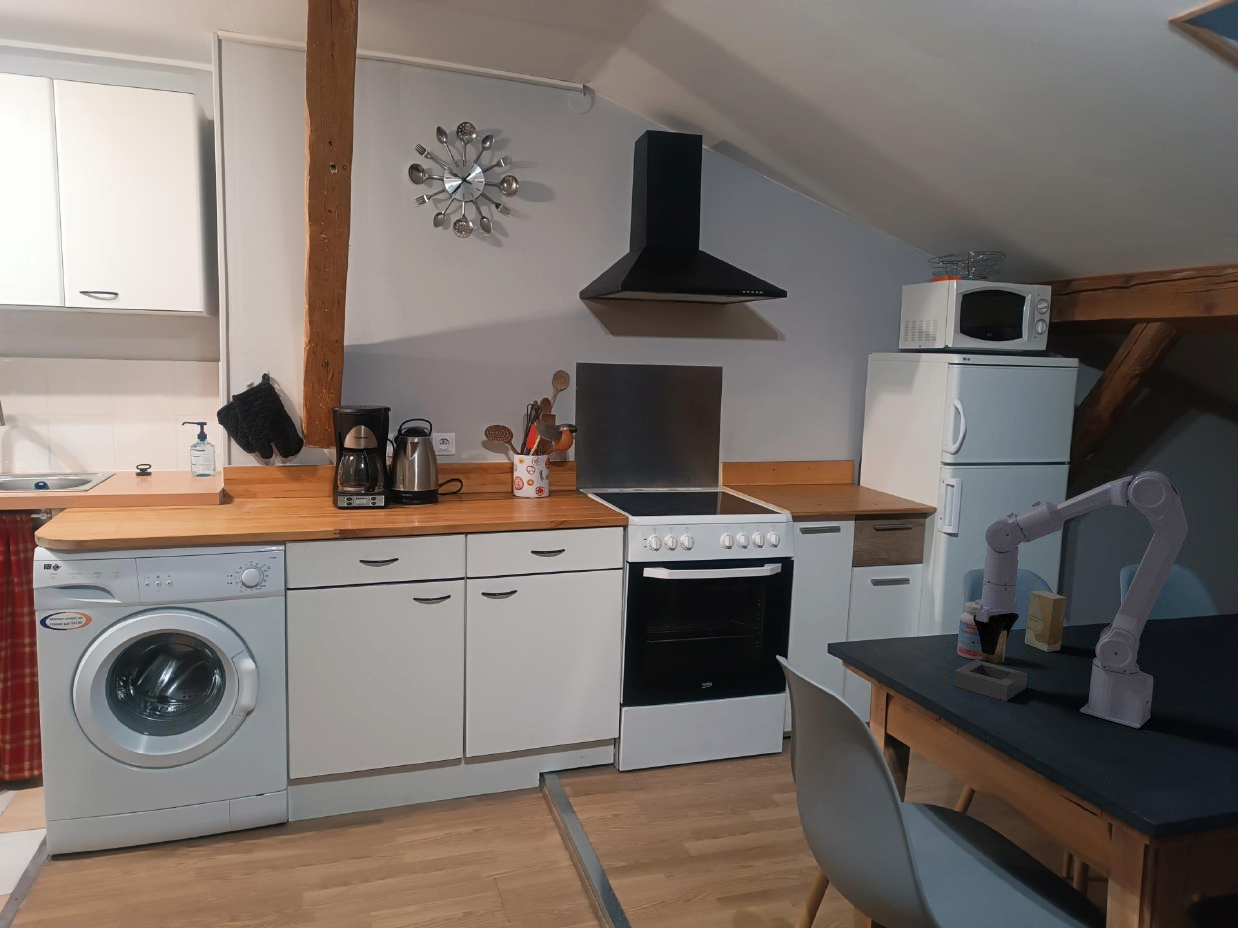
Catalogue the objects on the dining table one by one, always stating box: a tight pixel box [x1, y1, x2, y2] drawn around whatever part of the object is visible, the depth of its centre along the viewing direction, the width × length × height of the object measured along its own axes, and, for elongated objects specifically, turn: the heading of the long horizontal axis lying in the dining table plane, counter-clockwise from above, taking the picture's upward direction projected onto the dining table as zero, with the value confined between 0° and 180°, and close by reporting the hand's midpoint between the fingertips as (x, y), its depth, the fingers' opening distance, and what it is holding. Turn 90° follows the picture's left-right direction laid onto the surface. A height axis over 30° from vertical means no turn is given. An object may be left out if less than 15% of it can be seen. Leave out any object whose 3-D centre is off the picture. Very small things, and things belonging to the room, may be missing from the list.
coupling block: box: [952, 659, 1028, 702], centre depth 167 cm, size 10×10×3 cm
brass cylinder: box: [981, 628, 1007, 664], centre depth 166 cm, size 4×4×6 cm
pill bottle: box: [956, 601, 984, 661], centre depth 185 cm, size 6×6×11 cm
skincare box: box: [1024, 589, 1068, 653], centre depth 193 cm, size 6×4×12 cm
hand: (992, 651), depth 167 cm, fingers closed on brass cylinder, 4 cm apart
